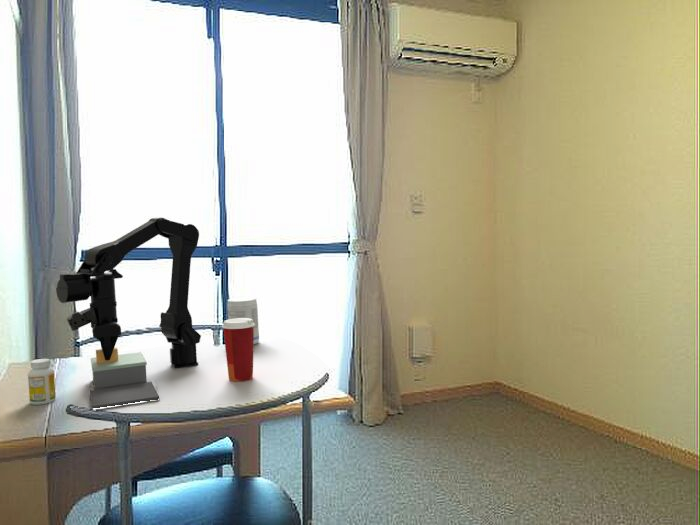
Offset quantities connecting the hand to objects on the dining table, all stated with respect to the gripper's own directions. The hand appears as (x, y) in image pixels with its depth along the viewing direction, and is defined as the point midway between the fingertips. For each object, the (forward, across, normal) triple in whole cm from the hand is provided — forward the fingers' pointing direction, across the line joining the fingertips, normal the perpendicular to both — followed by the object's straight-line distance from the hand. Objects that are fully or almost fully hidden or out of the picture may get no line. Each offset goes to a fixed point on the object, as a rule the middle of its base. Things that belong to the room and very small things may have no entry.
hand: (107, 359), depth 150 cm
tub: (+6, 0, +2) cm, 7 cm away
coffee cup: (+6, +13, +30) cm, 34 cm away
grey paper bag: (+7, -28, +42) cm, 51 cm away
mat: (+6, +14, +2) cm, 16 cm away
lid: (+1, 0, +2) cm, 3 cm away
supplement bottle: (+6, +8, -14) cm, 18 cm away
